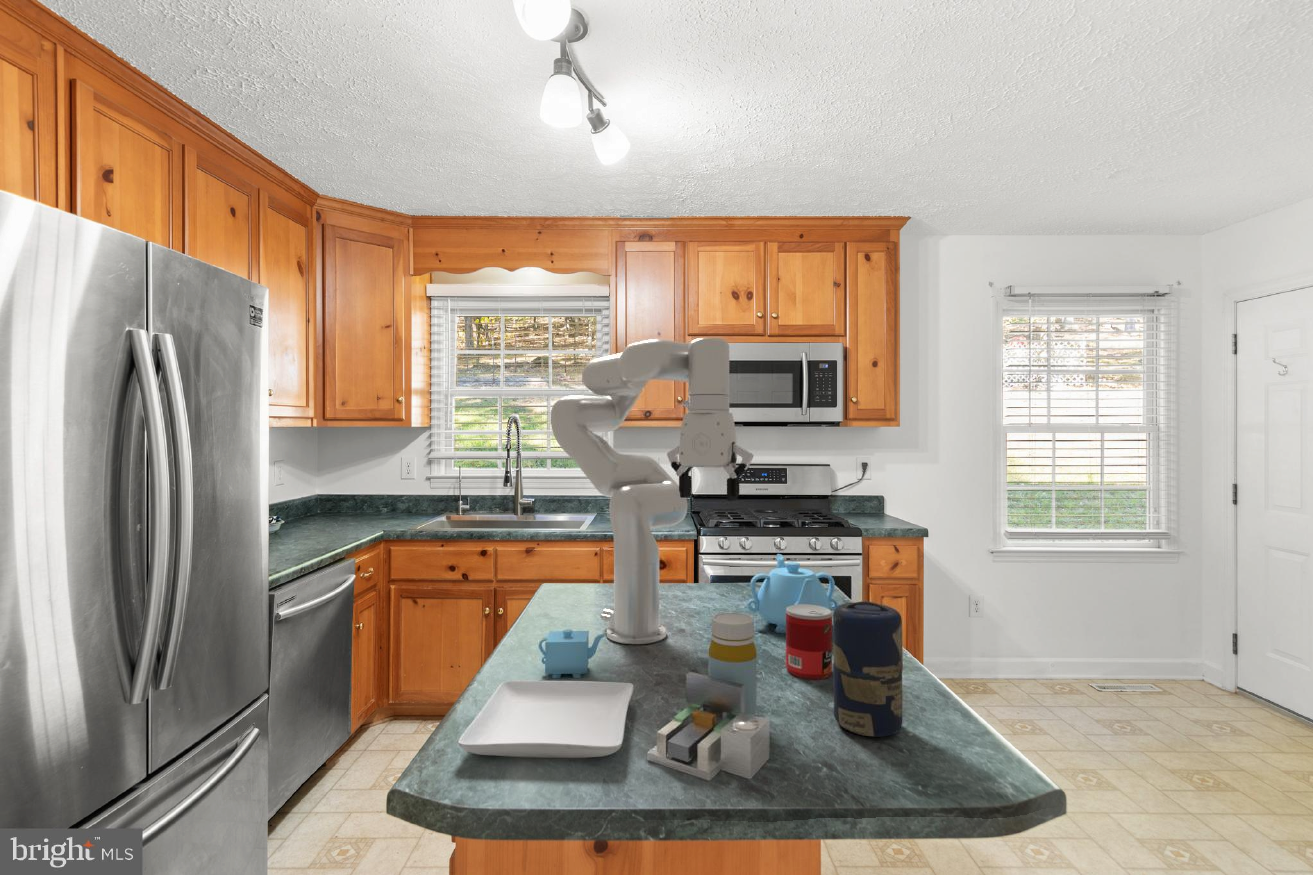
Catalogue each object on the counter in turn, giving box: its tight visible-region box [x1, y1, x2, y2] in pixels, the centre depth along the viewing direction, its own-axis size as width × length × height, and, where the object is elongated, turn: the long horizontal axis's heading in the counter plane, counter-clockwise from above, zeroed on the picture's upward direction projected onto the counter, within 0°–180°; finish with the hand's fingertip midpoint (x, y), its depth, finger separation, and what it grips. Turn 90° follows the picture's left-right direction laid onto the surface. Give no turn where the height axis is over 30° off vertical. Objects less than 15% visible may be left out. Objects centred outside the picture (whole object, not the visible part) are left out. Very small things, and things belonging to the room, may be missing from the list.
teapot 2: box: [746, 553, 839, 634], centre depth 137 cm, size 16×20×14 cm
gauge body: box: [646, 703, 770, 782], centre depth 81 cm, size 13×11×5 cm
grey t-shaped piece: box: [668, 671, 745, 762], centre depth 82 cm, size 8×11×7 cm
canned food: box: [785, 604, 833, 680], centre depth 110 cm, size 8×8×11 cm
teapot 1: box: [538, 628, 607, 679], centre depth 109 cm, size 12×6×8 cm, turn 94°
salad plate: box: [457, 680, 635, 759], centre depth 88 cm, size 21×21×3 cm
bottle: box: [707, 612, 758, 717], centre depth 91 cm, size 7×7×15 cm
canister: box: [832, 600, 904, 738], centre depth 89 cm, size 10×10×18 cm
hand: (708, 498), depth 114 cm, fingers open, 9 cm apart
